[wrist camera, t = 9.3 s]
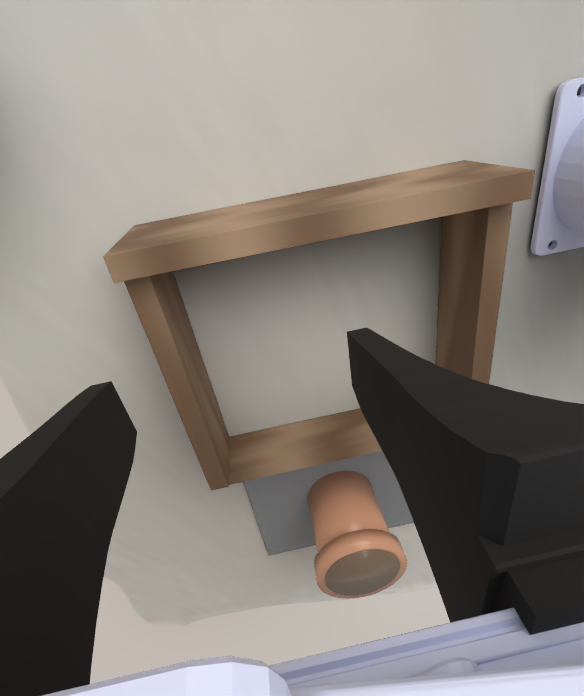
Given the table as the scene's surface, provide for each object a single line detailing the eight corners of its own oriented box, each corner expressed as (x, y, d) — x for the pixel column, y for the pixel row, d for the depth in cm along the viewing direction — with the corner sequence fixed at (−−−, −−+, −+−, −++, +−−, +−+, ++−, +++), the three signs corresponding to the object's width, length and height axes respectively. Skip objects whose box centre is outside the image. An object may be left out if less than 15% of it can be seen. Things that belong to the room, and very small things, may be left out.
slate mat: (433, 430, 27) (434, 432, 27) (429, 516, 32) (430, 518, 32) (241, 472, 27) (241, 475, 27) (268, 553, 32) (268, 555, 32)
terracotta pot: (357, 454, 27) (386, 533, 22) (388, 497, 30) (420, 575, 25) (287, 490, 28) (300, 573, 23) (324, 528, 31) (342, 609, 26)
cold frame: (464, 160, 18) (534, 170, 14) (448, 400, 26) (490, 454, 22) (134, 225, 18) (102, 256, 13) (218, 451, 25) (215, 516, 21)
